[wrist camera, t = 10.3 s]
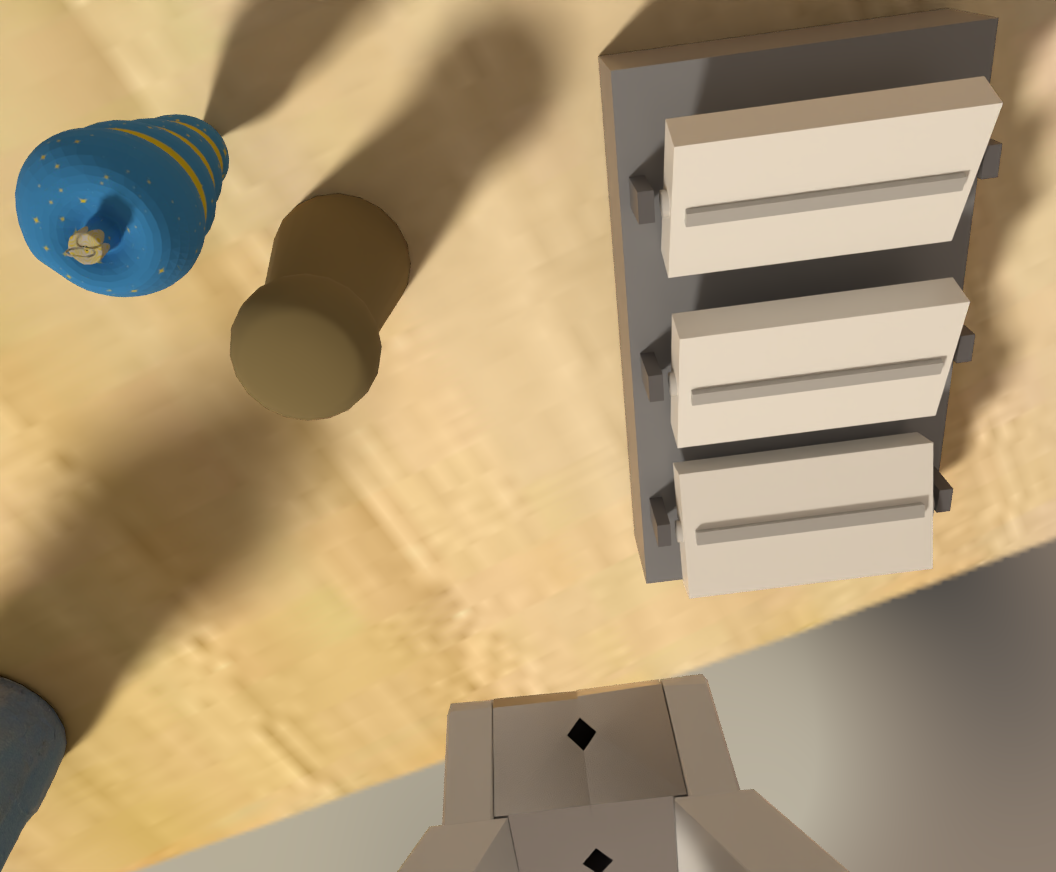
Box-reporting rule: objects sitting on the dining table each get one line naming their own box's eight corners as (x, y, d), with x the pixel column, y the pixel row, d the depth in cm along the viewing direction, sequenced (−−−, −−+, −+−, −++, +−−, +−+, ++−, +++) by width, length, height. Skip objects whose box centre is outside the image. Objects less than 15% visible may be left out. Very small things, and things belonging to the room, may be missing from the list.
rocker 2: (666, 314, 35) (675, 345, 34) (957, 276, 35) (978, 305, 34) (666, 422, 39) (674, 453, 38) (925, 389, 39) (943, 419, 38)
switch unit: (598, 56, 36) (618, 80, 31) (955, 7, 36) (1040, 22, 30) (634, 535, 48) (653, 613, 43) (901, 502, 48) (955, 576, 42)
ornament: (142, 60, 35) (-56, 144, 22) (275, 75, 36) (158, 165, 23) (154, 191, 38) (-17, 335, 25) (278, 203, 38) (174, 350, 25)
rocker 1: (659, 120, 31) (670, 153, 30) (990, 75, 31) (1013, 106, 30) (656, 250, 36) (664, 283, 35) (941, 213, 36) (959, 245, 34)
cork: (278, 323, 41) (217, 445, 31) (266, 190, 38) (194, 281, 28) (411, 326, 41) (390, 448, 32) (409, 195, 38) (385, 288, 29)
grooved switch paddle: (668, 463, 40) (675, 477, 39) (921, 431, 40) (941, 444, 38) (678, 583, 42) (686, 602, 40) (921, 553, 42) (940, 571, 40)
